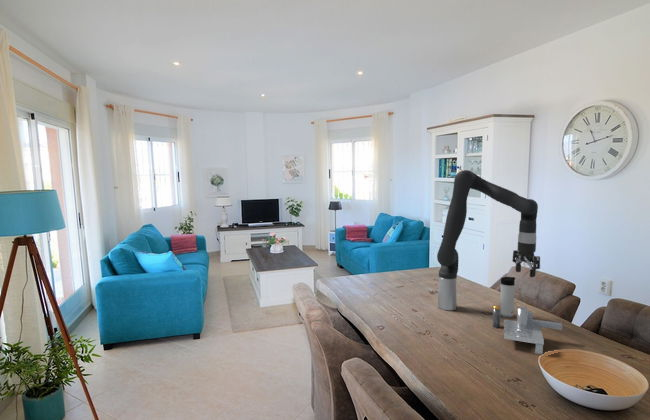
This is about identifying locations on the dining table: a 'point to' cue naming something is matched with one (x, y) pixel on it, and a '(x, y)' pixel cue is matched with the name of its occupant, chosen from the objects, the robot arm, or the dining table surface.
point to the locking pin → (496, 316)
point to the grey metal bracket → (528, 329)
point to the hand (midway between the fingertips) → (525, 274)
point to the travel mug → (507, 297)
